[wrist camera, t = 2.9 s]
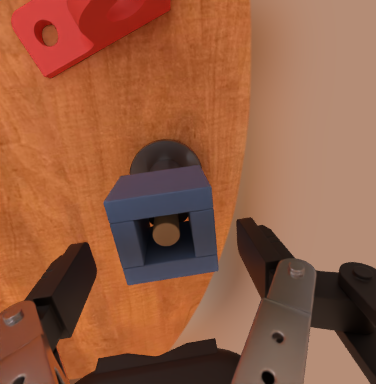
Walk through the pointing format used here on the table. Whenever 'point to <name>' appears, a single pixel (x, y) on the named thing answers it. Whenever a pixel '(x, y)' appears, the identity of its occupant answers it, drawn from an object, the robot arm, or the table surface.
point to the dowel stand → (162, 160)
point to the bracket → (79, 27)
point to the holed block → (159, 206)
